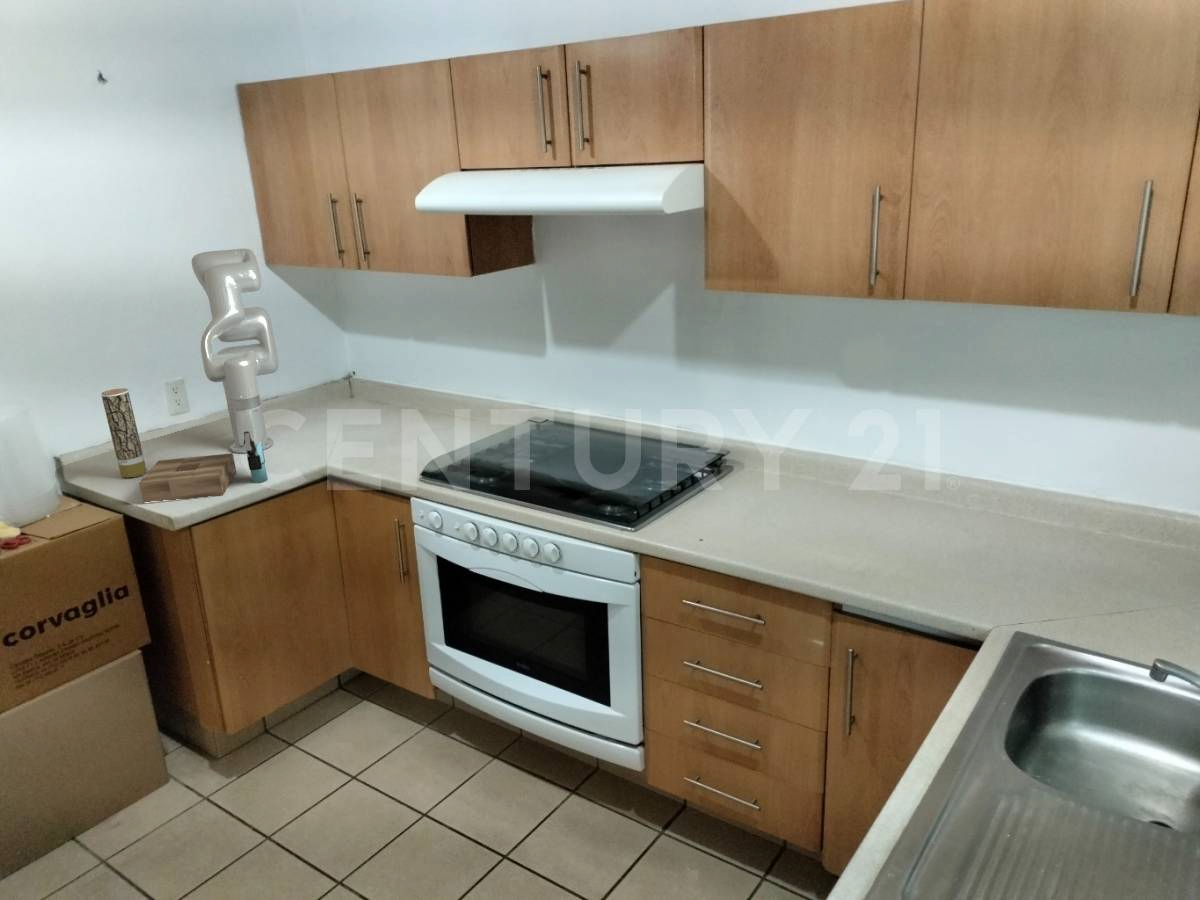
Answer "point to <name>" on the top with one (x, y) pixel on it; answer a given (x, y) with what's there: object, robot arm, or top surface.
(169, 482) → the socket block
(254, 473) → the peg
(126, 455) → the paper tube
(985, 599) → the top surface
